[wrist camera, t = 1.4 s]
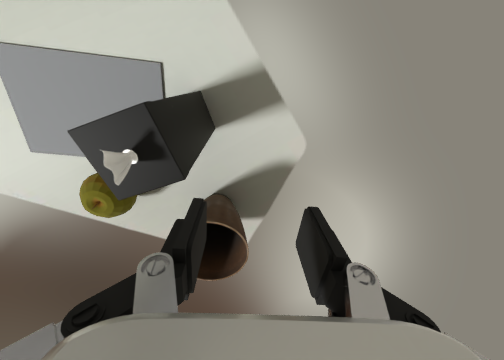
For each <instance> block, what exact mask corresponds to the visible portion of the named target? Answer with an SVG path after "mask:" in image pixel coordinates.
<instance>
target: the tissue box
mask: <svg viewBox="0 0 504 360" xmlns="http://www.w3.org/2000/svg"><path fill="white" fill-rule="evenodd" d="M214 130H215V126H214V124H213V121H212V119H211V116H210V114H209V111H208V109H207V106H206V104H205V101H204V99H203V97H202V94H201V92H200V91H197V92H193V93H188V94H183V95H179V96H174V97H169V98H165V99H160V100H155V101H146V102H142V103H140V104H137V105H134V106H132V107H129V108H126V109H124V110H121V111H118V112H116V113H113V114H110V115H108V116H105V117H102V118H100V119H97V120H94V121H92V122H89V123H86V124H84V125H81V126H78V127H76V128H73V129H70V130H68V134H69V135H70V136H71V138H72V139H73V140H74V142H75V143H76V144H77V146H78V147H79V148H80V150H81V151H82V152H83V154H84V155H85V156H86V158H87V159H88V160H89V162H90V163H91V164H92V166H93V167H94V168H95V170H96V171H97V172H98V174H99V175H100V176H101V178H102V179H103V180H104V182H105V183H106V184H107V186H108V187H109V188H110V190H111V191H112V192H113V194H114V195H115V196H116V198H117V199H118V200H119V201H120V200H123V199H126V198H129V197H132V196H135V195H138V194H142V193H145V192H148V191H151V190H154V189H157V188H160V187H163V186H167V185H170V184H173V183H176V182H179V181H182V180H185V179H186V177H187V175H188V173H189V171H190V169H191V167H192V166H193V164H194V162H195V161H196V159H197V158H198V156H199V154H200V153H201V151H202V149H203V148H204V146H205V145H206V143H207V141H208V140H209V138H210V136H211V135H212V133H213V132H214Z"/></svg>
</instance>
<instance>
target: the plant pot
mask: <svg viewBox="0 0 504 360" xmlns="http://www.w3.org/2000/svg"><path fill="white" fill-rule="evenodd" d="M204 201H207V234H206V243H205V247H204V251H203V255H202V259H201V264H200V268H199V272H198V276H197V279H199V280H207V281H208V280H209V281H213V280H221V279H225V278H228V277H230V276H232V275H234V274H235V273H237V272H239V271H240V270H241V269H242V268H243V267H244V265H245V263H246V262H247V259H248V254H249V251H248V245H247V240H246V236H245V232H244V228H243V225H242V222H241V219H240V217H239V214H238V212H237V210H236V208H235V207H234V205H233V203H232V202H231V201H230V199H229V198H228V197H226V196H224V195H220V194H215V195H211V196H209V197H208V198H206V199H205V200H204Z"/></svg>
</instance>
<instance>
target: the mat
mask: <svg viewBox="0 0 504 360" xmlns="http://www.w3.org/2000/svg"><path fill="white" fill-rule="evenodd" d="M0 76H1V79H2V81H3V84H4V86H5V89H6V91H7V94H8V96H9V99H10V101H11V104H12V106H13V109H14V111H15V114H16V116H17V119H18V121H19V124H20V126H21V129H22V131H23V134H24V136H25V139H26V141H27V144H28V146H29V149H30V151H31V152H36V153H47V154H59V155H71V156H82V157H86V156H85V155H84V154H83V152H82V151H81V150H80V148H79V147H78V146H77V144H76V143H75V142H74V140H73V139H72V138H71V136H70V135H69V134H68V130H70V129H73V128H76V127H78V126H81V125H84V124H86V123H89V122H92V121H94V120H97V119H100V118H102V117H105V116H108V115H110V114H113V113H116V112H118V111H121V110H124V109H126V108H129V107H132V106H134V105H137V104H140V103H142V102H146V101H155V100H160V99H164V96H163V83H162V71H161V63H156V62H148V61H140V60H132V59H124V58H116V57H108V56H100V55H92V54H84V53H76V52H68V51H60V50H52V49H44V48H36V47H28V46H20V45H12V44H4V43H0Z"/></svg>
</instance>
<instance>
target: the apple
mask: <svg viewBox="0 0 504 360" xmlns="http://www.w3.org/2000/svg"><path fill="white" fill-rule="evenodd" d="M136 198H137V195H135V196H132V197H129V198H126V199H123V200H120V201H119V200H118V199H117V198H116V196H115V195H114V194H113V192H112V191H111V190H110V188H109V187H108V186H107V184H106V183H105V182H104V180H103V179H102V178H101V176H100V175H99V174H98V173H96V174H93V175H91V176H89V177H88V178H87V179H86V180H84V181H83V184H82V186H81V188H80V199H81V202H82V205H83V207H84V208H85V210H87V211H88V212H90V213H91V214H94V215H96V216H101V217H106V218H111V217H115V216H118V215H121V214H124V213H126V212H127V211H128V210H130V209H131V208H132V206H133V205H134V203H135V202H136Z"/></svg>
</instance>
